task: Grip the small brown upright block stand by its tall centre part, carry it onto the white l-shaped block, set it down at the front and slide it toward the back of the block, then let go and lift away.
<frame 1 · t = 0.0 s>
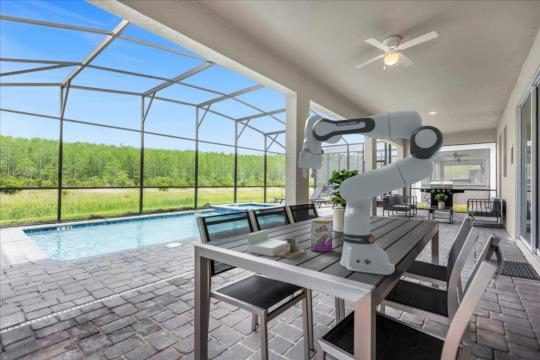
hand: (309, 177, 130), 39 cm above the table, tool pointing down, fingers open, 8 cm apart
brown upright block stand: (291, 255, 133), on the table
candy bar box: (321, 250, 141), on the table
white l-shaped block: (268, 250, 140), on the table
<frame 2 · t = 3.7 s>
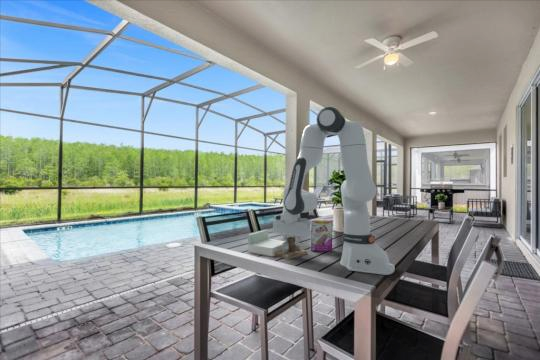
hand: (291, 244, 133), 5 cm above the table, tool pointing down, fingers closed on brown upright block stand, 3 cm apart
brown upright block stand: (291, 254, 133), on the table, touching gripper
everything else where it was.
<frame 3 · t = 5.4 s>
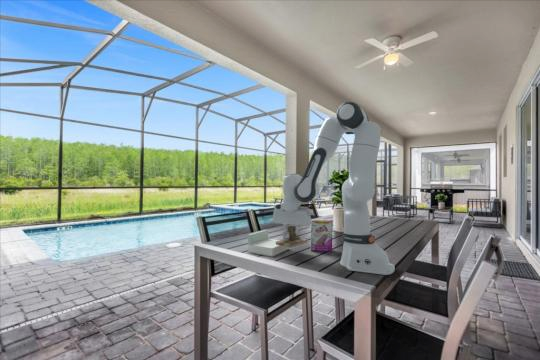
hand: (291, 233, 133), 11 cm above the table, tool pointing down, fingers closed on brown upright block stand, 3 cm apart
brown upright block stand: (291, 243, 133), point 6 cm above the table, touching gripper
everything else where it was.
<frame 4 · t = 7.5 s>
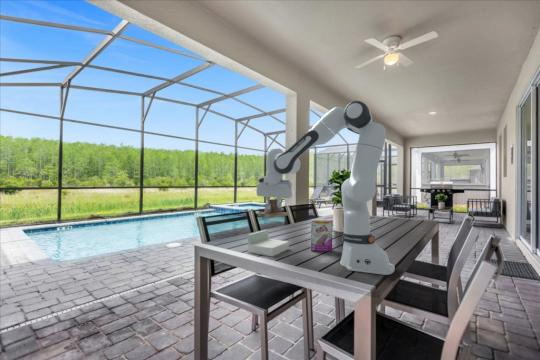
hand: (273, 205, 139), 24 cm above the table, tool pointing down, fingers closed on brown upright block stand, 3 cm apart
brown upright block stand: (273, 215, 139), point 19 cm above the table, touching gripper
everything else where it was.
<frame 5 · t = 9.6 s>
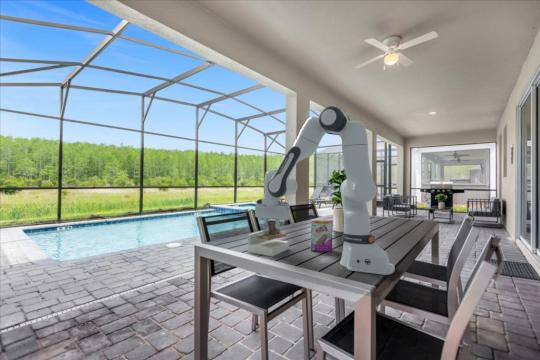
hand: (271, 227, 139), 13 cm above the table, tool pointing down, fingers closed on brown upright block stand, 3 cm apart
brown upright block stand: (271, 236, 139), point 7 cm above the table, touching gripper
everything else where it was.
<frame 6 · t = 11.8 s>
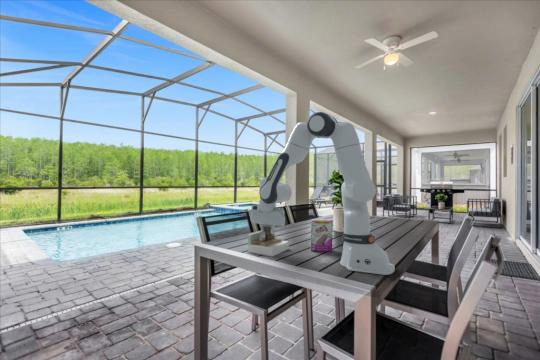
hand: (267, 232, 141), 9 cm above the table, tool pointing down, fingers closed on brown upright block stand, 3 cm apart
brown upright block stand: (267, 242, 141), point 4 cm above the table, touching gripper, white l-shaped block
everything else where it was.
when the fingers open (9 cm above the table, at t = 11.8 s): brown upright block stand stays where it is, resting on white l-shaped block.
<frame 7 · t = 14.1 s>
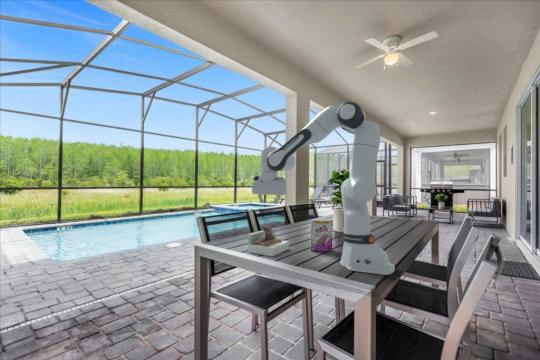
hand: (269, 203, 141), 25 cm above the table, tool pointing down, fingers open, 8 cm apart
brown upright block stand: (267, 242, 141), point 4 cm above the table, touching white l-shaped block
everything else where it was.
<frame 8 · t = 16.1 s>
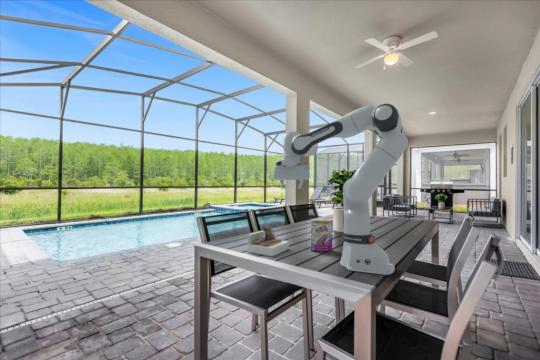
hand: (291, 188, 142), 33 cm above the table, tool pointing down, fingers open, 8 cm apart
nothing on the table moved.
at the end: brown upright block stand 0.3 cm off-centre on the white l-shaped block, point 4.0 cm above the white l-shaped block's base; brown upright block stand tilted 0°; the gripper is holding nothing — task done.
